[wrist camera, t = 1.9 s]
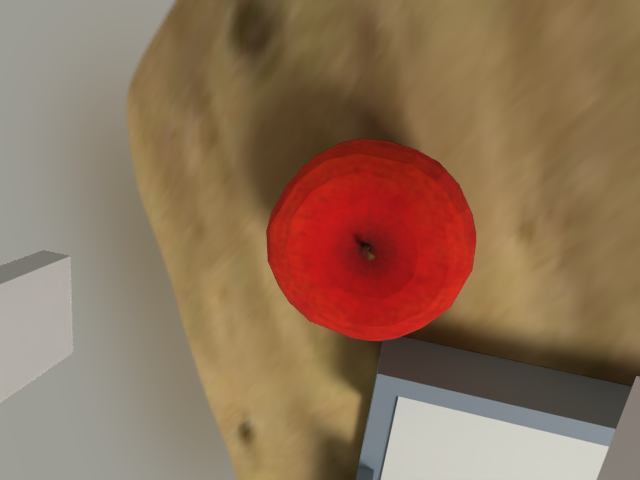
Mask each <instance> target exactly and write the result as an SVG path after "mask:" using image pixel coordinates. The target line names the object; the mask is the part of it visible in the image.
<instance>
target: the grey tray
mask: <svg viewBox="0 0 640 480" xmlns="http://www.w3.org/2000/svg"><path fill="white" fill-rule="evenodd" d="M631 389H632V386H627V385H623V384H618V383H613V382H609V381H604V380H600V379H595V378H591V377H586V376H581V375H577V374H572V373H568V372H563V371H558V370H554V369H549V368H545V367H540V366H535V365H531V364H526V363H522V362H517V361H513V360H508V359H503V358H499V357H494V356H490V355H485V354H480V353H476V352H471V351H467V350H462V349H457V348H453V347H448V346H444V345H439V344H435V343H430V342H425V341H421V340H416V339H412V338H407V337H402V336H401V337H399V338H396V339H390V340H383V341H382V346H381V351H380V356H379V361H378V366H377V372H376V377H375V382H374V387H373V392H372V397H371V403H370V408H369V413H368V418H367V423H366V428H365V434H364V439H363V444H362V449H361V454H360V459H359V465H358V470H357V475H356V480H597V477H598V474H599V472H600V469H601V467H602V464H603V462H604V459H605V456H606V454H607V451H608V449H609V446H610V443H611V441H612V438H613V436H614V433H615V430H616V428H617V425H618V423H619V420H620V417H621V415H622V412H623V410H624V407H625V404H626V402H627V399H628V397H629V394H630V391H631Z"/></svg>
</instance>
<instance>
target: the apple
mask: <svg viewBox="0 0 640 480" xmlns="http://www.w3.org/2000/svg"><path fill="white" fill-rule="evenodd" d="M266 234H267V254H268V263H269V265H270V267H271V269H272V272H273V274H274V276H275V279H276V281H277V283H278V286H279V287H280V289H281V290H282V292H283V293H284V295H285V296H286V298H287V299H288V301H289V303H291V304H292V305H293V306H294V307H295V308H296V309H297V310H298V311H299V312H300V313H301V314H302V315H304V316H305V317H306V318H307V319H308V320H309V321H310V322H313V323H315V324H318V325H320V326H323V327H325V328H328V329H330V330H333V331H336V332H338V333H341V334H343V335H346V336H348V337H351V338H355V339H361V340H369V341H383V340H390V339H396V338H399V337H401V336H404V335H406V334H409V333H411V332H413V331H416V330H418V329H421V328H423V327H424V326H426V325H427V324H428V323H430V322H431V321H432V320H434V319H435V318H437V317H438V316H439V315H441V314H442V313H443V312H445V311H446V310H448V309H449V308H450V307H451V306H452V304H453V302H454V301H455V299H456V297H457V295H458V294H459V292H460V290H461V289H462V287H463V285H464V284H465V282H466V280H467V278H468V277H469V275H470V273H471V272H472V268H473V261H474V254H475V247H476V230H475V225H474V220H473V215H472V212H471V210H470V208H469V206H468V203H467V201H466V199H465V196H464V194H463V192H462V190H461V187H460V185H459V184H458V183H457V182H456V180H455V179H454V178H453V177H452V176H451V175H450V174H449V173H448V172H447V171H446V169H445V168H444V167H443V166H442V165H441V164H440V163H439V162H438V161H436V160H434V159H432V158H430V157H429V156H427V155H425V154H423V153H421V152H420V151H418V150H415V149H412V148H408V147H405V146H402V145H399V144H395V143H392V142H389V141H382V140H371V139H356V140H351V141H347V142H342V143H340V144H338V145H336V146H334V147H332V148H330V149H328V150H326V151H324V152H322V153H320V154H318V155H317V156H315V157H314V158H313V159H312V160H311V161H310V162H308V163H307V164H306V165H305V166H304V167H303V168H302V169H301V170H300V171H299V172H298V173H297V174H296V175H295V177H294V178H293V179H292V180H291V181H290V182H289V183H288V185H287V186H286V188H285V189H284V191H283V193H282V195H281V197H280V199H279V200H278V202H277V204H276V206H275V208H274V209H273V211H272V213H271V216H270V220H269V223H268V227H267V230H266Z"/></svg>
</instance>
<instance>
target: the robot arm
mask: <svg viewBox="0 0 640 480" xmlns="http://www.w3.org/2000/svg"><path fill="white" fill-rule="evenodd" d="M70 261H71V260H70V256H68V255H63V254H59V253H54V252H49V251H45V250H43V251H40V252H38V253H35V254H32V255H29V256H26V257H24V258H21V259H18V260H15V261H13V262H10V263H7V264H4V265H2V266H0V403H1V402H2V401H4V400H5V399H7V398H8V397H9V396H11V395H12V394H14V393H15V392H17V391H18V390H19V389H21V388H22V387H24V386H25V385H27V384H28V383H30V382H31V381H32V380H34V379H36V378H37V377H38V376H40V375H41V374H43V373H44V372H46V371H47V370H49V369H50V368H51V367H53V366H54V365H56V364H57V363H59V362H60V361H61V360H63V359H65V358H66V357H67V356H69V355H70V354H72V353H73V328H72V295H71V262H70ZM597 480H640V376H636V378H635V381H634V384H633V386H632V389H631V391H630V394H629V397H628V399H627V402H626V404H625V407H624V410H623V412H622V415H621V417H620V420H619V423H618V425H617V428H616V430H615V433H614V436H613V438H612V441H611V443H610V446H609V449H608V451H607V454H606V456H605V459H604V462H603V464H602V467H601V469H600V472H599V474H598V477H597Z"/></svg>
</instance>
